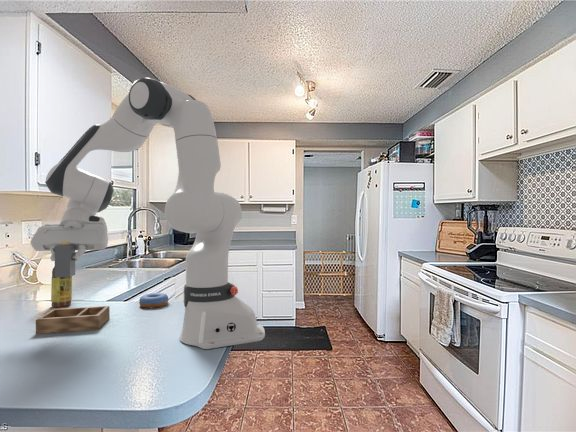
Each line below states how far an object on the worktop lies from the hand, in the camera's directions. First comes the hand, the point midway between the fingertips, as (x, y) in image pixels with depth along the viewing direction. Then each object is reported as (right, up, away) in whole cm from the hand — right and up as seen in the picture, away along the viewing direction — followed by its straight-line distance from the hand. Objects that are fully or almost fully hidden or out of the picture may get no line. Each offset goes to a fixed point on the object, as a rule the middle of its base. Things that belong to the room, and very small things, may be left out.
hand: (64, 259), depth 102 cm
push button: (0, -5, +1) cm, 5 cm away
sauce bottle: (-17, -20, +26) cm, 37 cm away
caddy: (+2, -20, +2) cm, 20 cm away
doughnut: (+16, -20, +26) cm, 36 cm away
